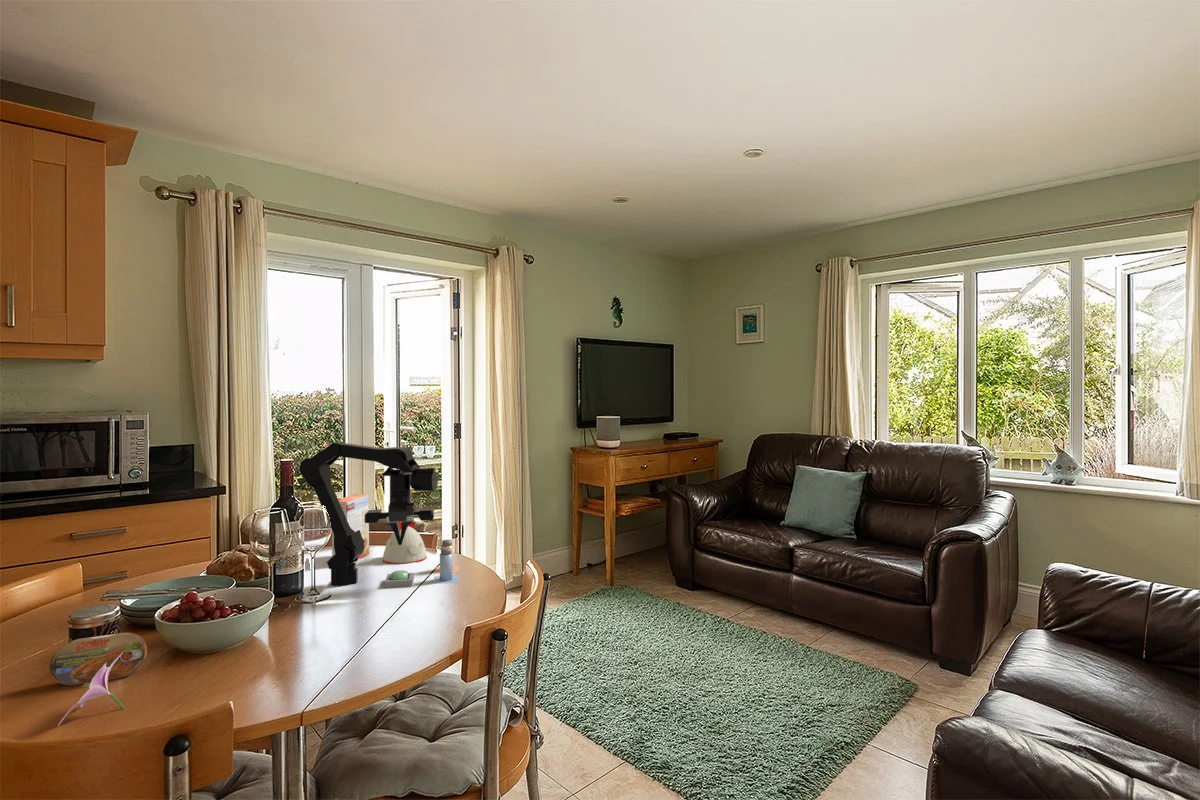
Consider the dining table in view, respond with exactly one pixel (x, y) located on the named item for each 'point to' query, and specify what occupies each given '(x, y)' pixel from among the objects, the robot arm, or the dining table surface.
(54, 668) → the tin
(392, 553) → the kitchen timer
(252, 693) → the dining table surface
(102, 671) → the lily
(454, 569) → the cream board with squares
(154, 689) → the dining table surface
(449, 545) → the terracotta marker
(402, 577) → the button
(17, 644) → the dining table surface
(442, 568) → the blue bottle
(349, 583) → the robot arm
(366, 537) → the cracker box
